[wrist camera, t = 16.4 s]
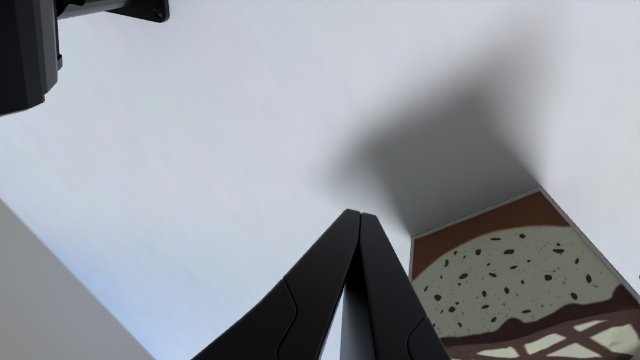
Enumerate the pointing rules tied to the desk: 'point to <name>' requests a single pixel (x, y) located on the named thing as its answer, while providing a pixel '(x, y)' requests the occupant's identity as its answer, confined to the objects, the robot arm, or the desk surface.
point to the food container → (523, 287)
